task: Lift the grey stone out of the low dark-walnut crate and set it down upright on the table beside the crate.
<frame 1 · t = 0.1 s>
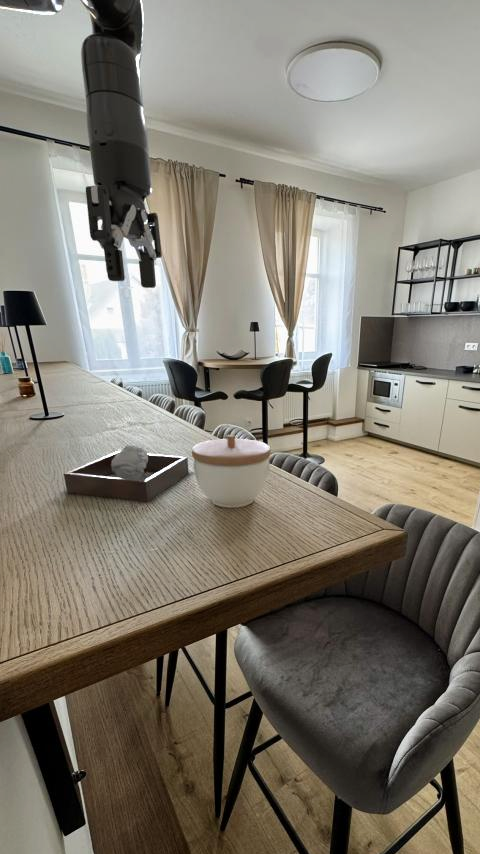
hand: (133, 284, 61), 33 cm above the counter, tool pointing down, fingers open, 8 cm apart
lidded bowl: (232, 500, 70), on the counter
crate: (132, 482, 77), on the counter
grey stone: (132, 483, 77), resting in crate
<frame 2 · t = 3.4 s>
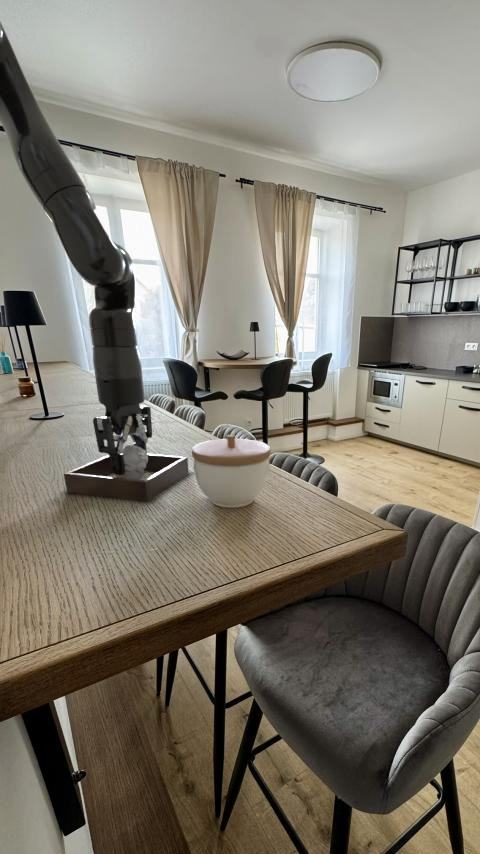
hand: (130, 468, 76), 3 cm above the counter, tool pointing down, fingers closed on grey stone, 7 cm apart
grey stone: (132, 483, 77), resting in crate, touching gripper
everything else where it was.
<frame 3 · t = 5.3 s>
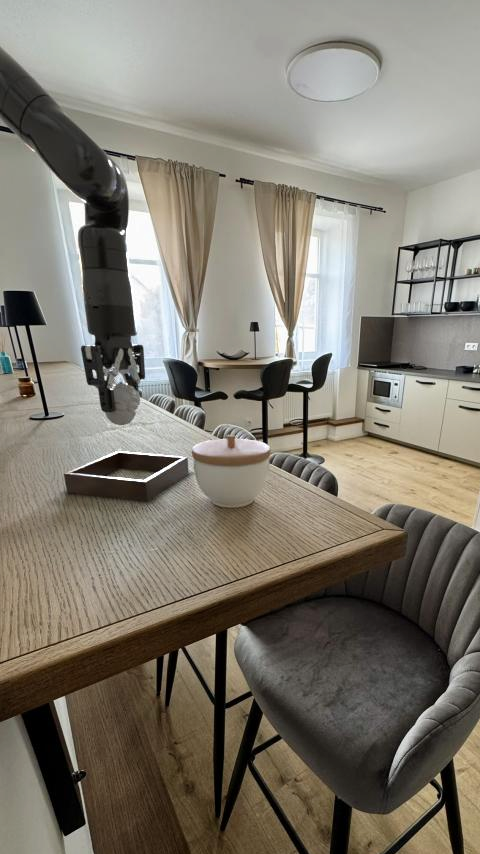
hand: (121, 408, 72), 14 cm above the counter, tool pointing down, fingers closed on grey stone, 7 cm apart
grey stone: (123, 425, 73), point 11 cm above the counter, touching gripper
everything else where it was.
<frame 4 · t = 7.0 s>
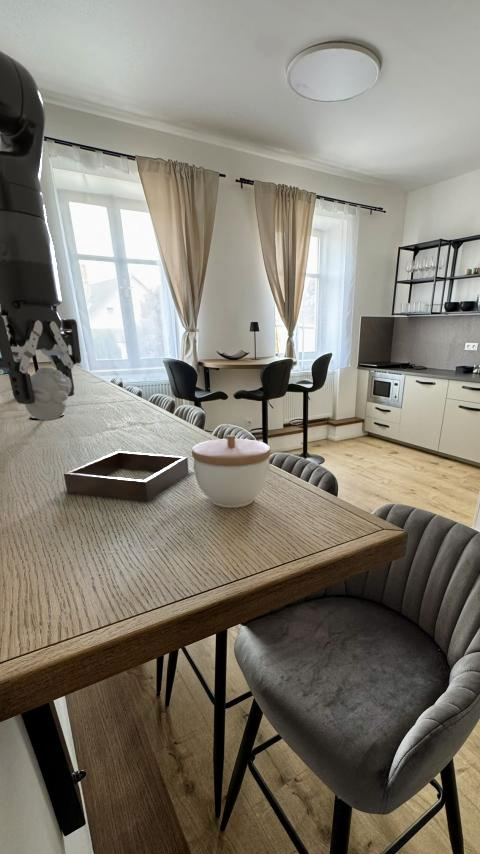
hand: (47, 399, 56), 17 cm above the counter, tool pointing down, fingers closed on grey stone, 7 cm apart
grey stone: (51, 421, 58), point 14 cm above the counter, touching gripper
everything else where it was.
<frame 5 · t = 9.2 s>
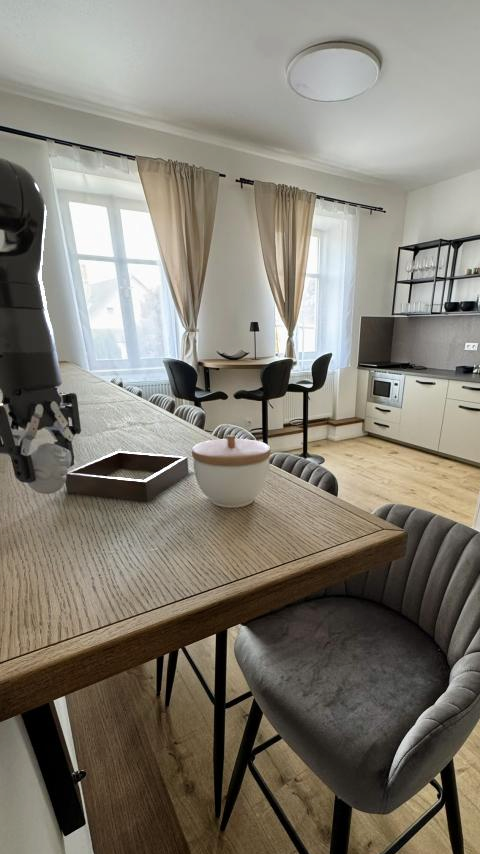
hand: (48, 473, 58), 7 cm above the counter, tool pointing down, fingers closed on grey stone, 7 cm apart
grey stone: (51, 493, 59), point 4 cm above the counter, touching gripper
everything else where it was.
when the fingers open (3 cm above the counter, at t = 10.9 s): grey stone stays where it is, on the counter.
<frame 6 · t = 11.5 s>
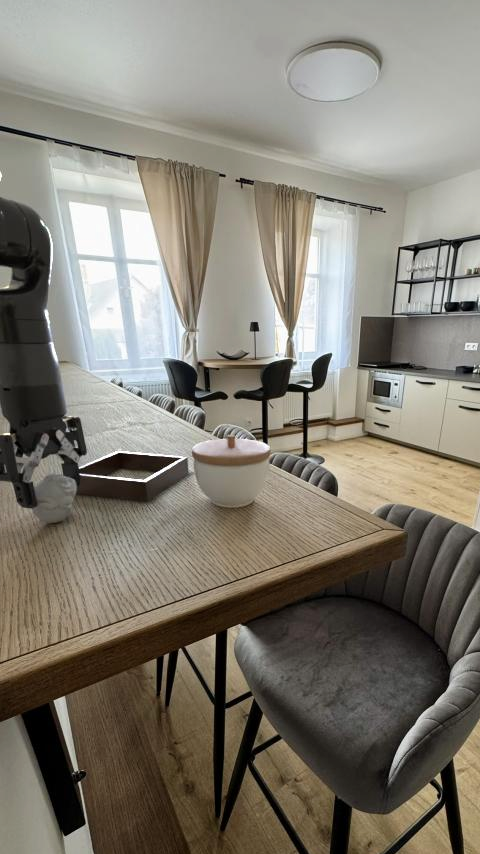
hand: (52, 496, 59), 4 cm above the counter, tool pointing down, fingers open, 8 cm apart
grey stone: (57, 521, 61), on the counter
everything else where it was.
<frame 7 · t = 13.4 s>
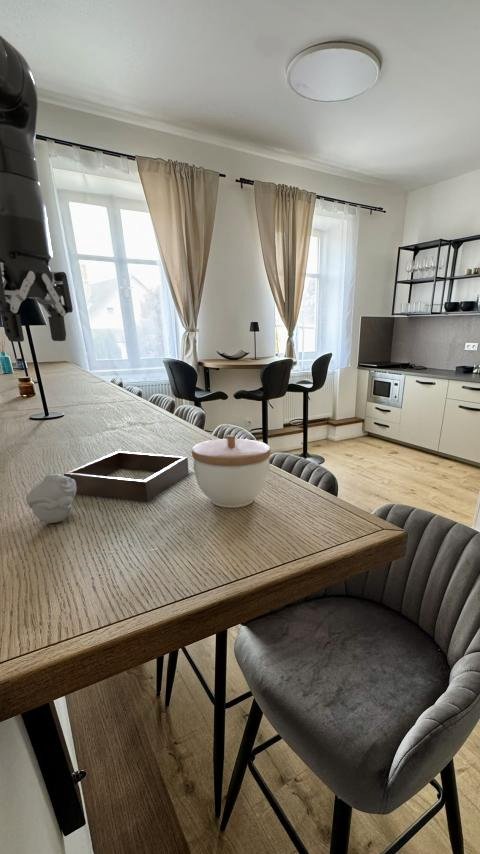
hand: (39, 341, 64), 25 cm above the counter, tool pointing down, fingers open, 8 cm apart
nothing on the counter moved.
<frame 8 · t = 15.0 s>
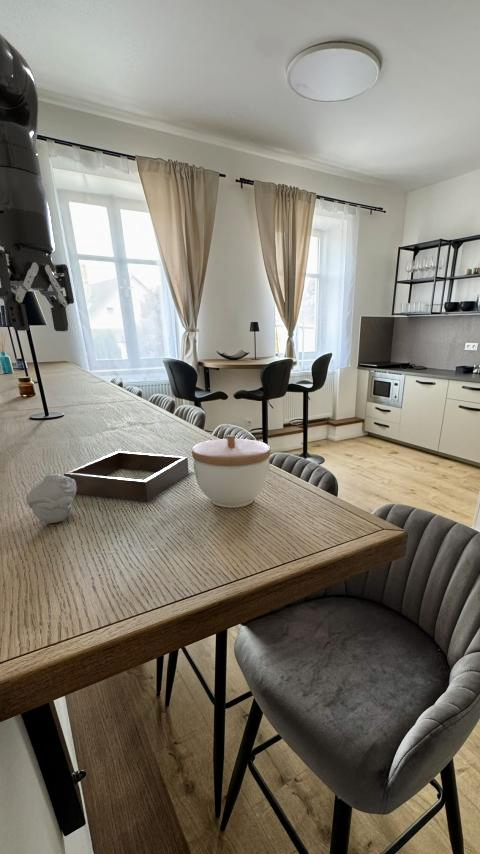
hand: (42, 331, 67), 26 cm above the counter, tool pointing down, fingers open, 8 cm apart
nothing on the counter moved.
at the end: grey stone inside the target area (0.6 cm from its centre), on the counter; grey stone touching counter; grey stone tilted 0° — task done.
